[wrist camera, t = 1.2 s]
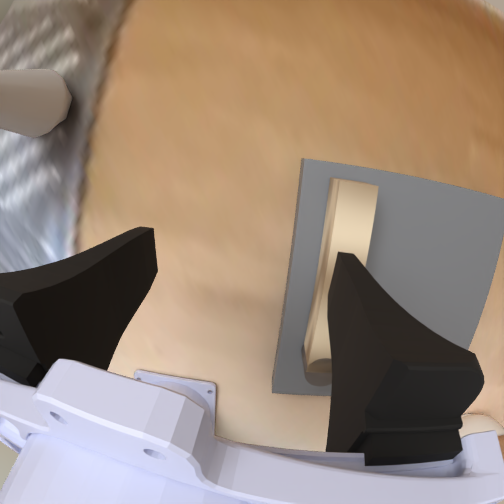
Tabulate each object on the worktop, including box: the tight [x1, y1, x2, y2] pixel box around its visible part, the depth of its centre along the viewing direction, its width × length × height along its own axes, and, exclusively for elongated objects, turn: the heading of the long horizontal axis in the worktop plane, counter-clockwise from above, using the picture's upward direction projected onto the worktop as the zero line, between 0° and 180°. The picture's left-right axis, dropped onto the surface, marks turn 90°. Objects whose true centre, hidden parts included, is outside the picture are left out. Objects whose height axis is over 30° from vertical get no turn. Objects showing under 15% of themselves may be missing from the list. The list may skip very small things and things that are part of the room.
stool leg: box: [301, 177, 379, 387], centre depth 21 cm, size 14×3×3 cm, turn 175°
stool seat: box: [272, 159, 504, 396], centre depth 22 cm, size 19×18×5 cm
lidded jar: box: [459, 413, 504, 461], centre depth 25 cm, size 11×11×9 cm
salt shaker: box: [0, 69, 72, 138], centre depth 16 cm, size 6×6×13 cm
